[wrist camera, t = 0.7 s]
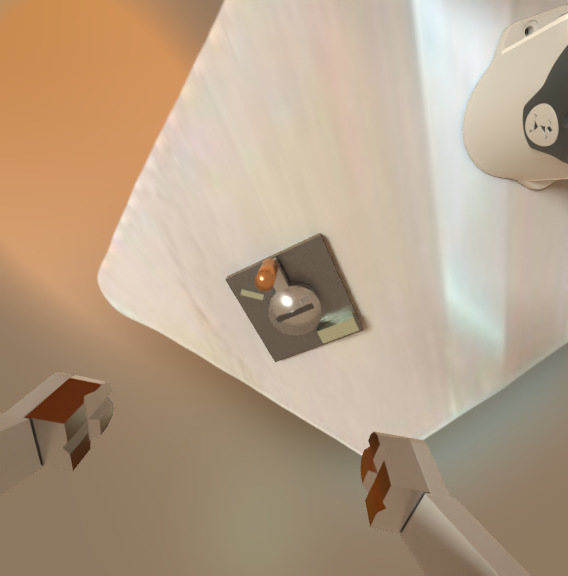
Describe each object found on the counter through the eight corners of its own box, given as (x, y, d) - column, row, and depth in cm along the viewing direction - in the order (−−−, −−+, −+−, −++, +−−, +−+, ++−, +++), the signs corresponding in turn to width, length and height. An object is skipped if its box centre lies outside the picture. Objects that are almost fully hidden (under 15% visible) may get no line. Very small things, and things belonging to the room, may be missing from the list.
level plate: (319, 232, 41) (320, 237, 38) (361, 325, 47) (365, 335, 44) (227, 276, 45) (222, 283, 42) (276, 356, 51) (274, 368, 47)
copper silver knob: (292, 242, 41) (289, 260, 33) (328, 316, 45) (333, 347, 37) (245, 265, 43) (231, 286, 35) (284, 334, 47) (279, 367, 39)
